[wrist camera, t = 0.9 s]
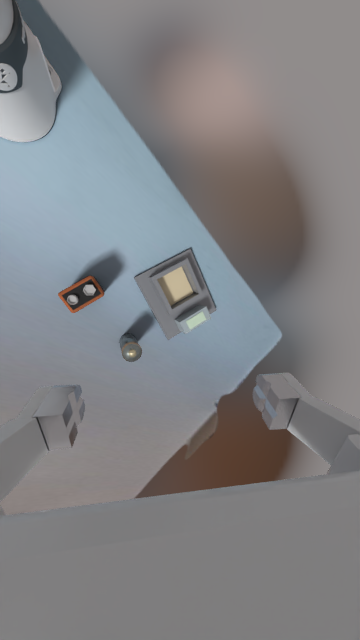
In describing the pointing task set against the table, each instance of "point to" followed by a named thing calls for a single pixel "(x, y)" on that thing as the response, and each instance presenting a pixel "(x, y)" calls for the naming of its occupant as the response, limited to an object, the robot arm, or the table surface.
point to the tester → (177, 294)
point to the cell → (130, 348)
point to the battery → (81, 294)
